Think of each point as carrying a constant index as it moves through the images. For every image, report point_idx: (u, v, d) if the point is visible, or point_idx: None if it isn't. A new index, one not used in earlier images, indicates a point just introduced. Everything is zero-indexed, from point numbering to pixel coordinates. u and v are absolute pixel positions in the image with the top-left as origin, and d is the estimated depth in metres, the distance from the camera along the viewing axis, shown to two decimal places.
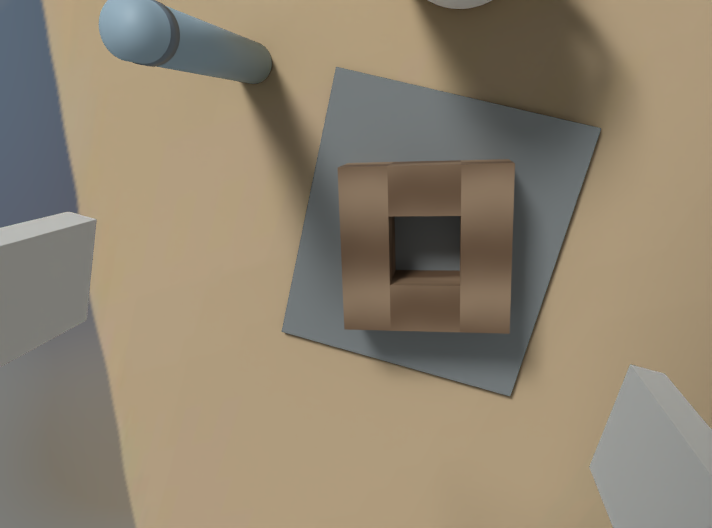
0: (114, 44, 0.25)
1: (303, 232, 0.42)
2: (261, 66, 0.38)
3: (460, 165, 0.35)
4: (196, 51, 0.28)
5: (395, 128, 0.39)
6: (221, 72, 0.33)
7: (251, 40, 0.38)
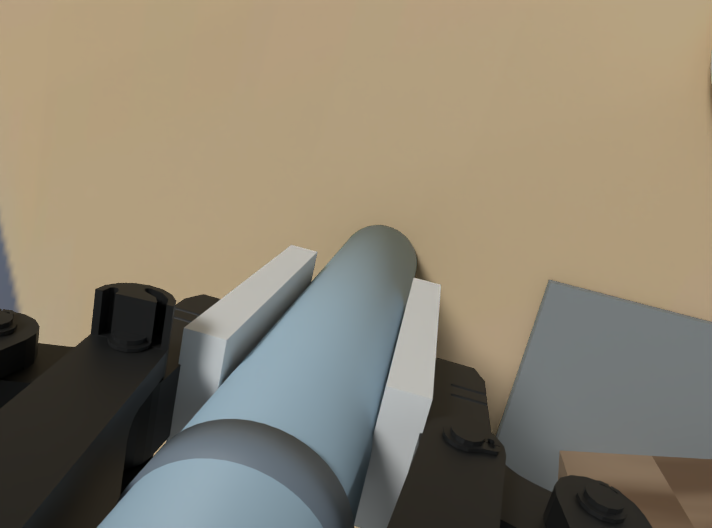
0: None
1: None
2: None
3: None
4: None
5: (663, 399, 0.20)
6: None
7: (392, 242, 0.19)
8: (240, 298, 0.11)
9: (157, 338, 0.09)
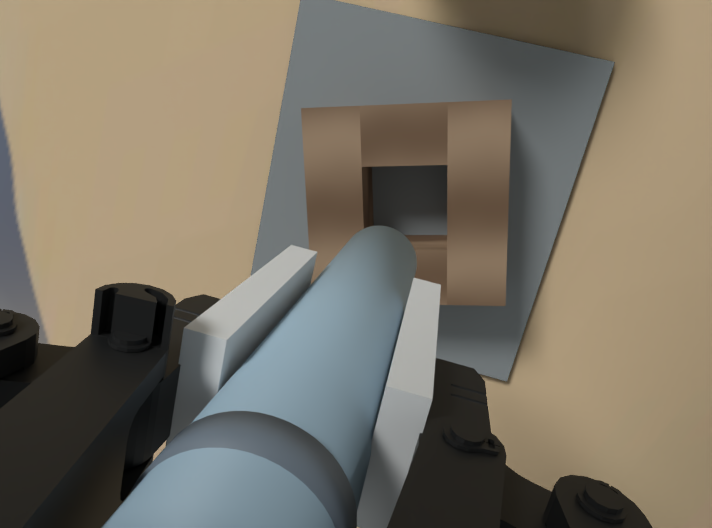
0: None
1: (267, 192, 0.36)
2: None
3: (446, 103, 0.29)
4: None
5: (372, 66, 0.33)
6: None
7: (393, 242, 0.19)
8: (240, 298, 0.11)
9: (157, 338, 0.09)
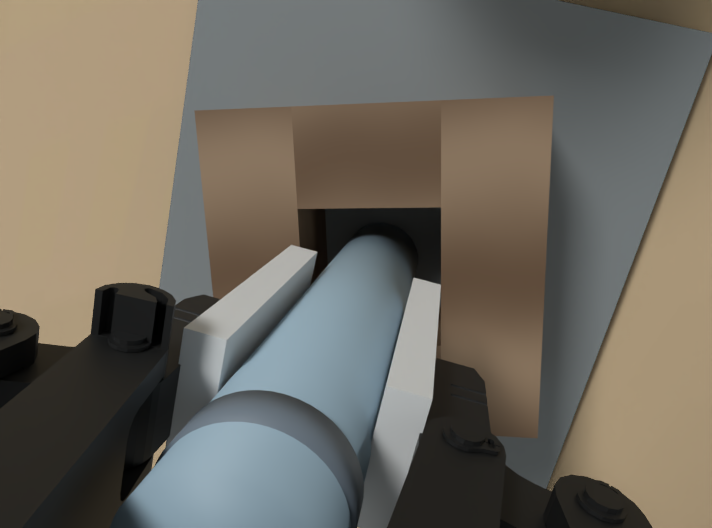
0: None
1: (168, 238, 0.24)
2: None
3: (439, 102, 0.17)
4: None
5: (322, 44, 0.21)
6: None
7: (395, 239, 0.20)
8: (240, 298, 0.11)
9: (157, 338, 0.09)
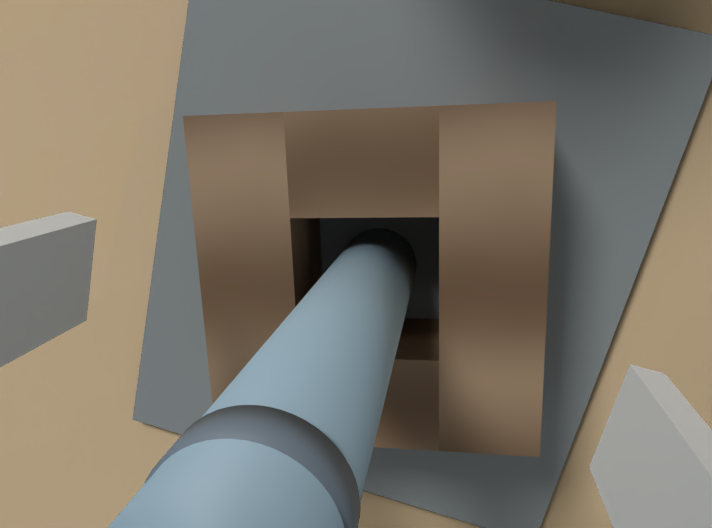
0: None
1: (158, 247, 0.23)
2: None
3: (437, 107, 0.16)
4: None
5: (316, 47, 0.20)
6: None
7: (393, 245, 0.19)
8: None
9: None
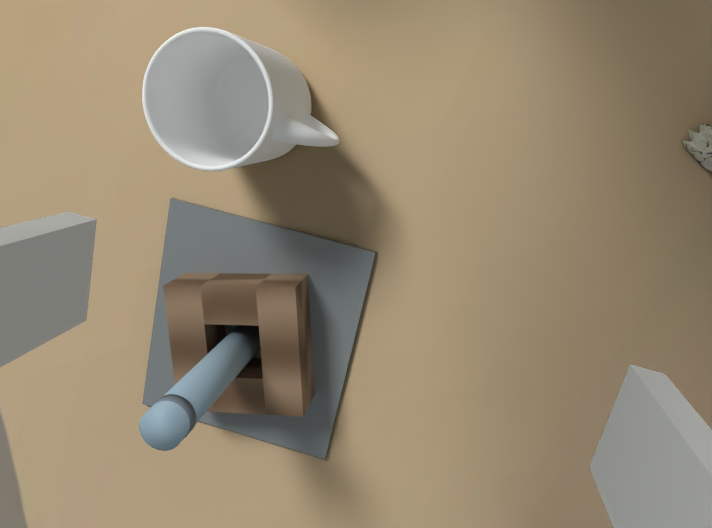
0: (150, 439, 0.35)
1: (154, 325, 0.51)
2: (257, 350, 0.48)
3: (255, 287, 0.45)
4: (207, 408, 0.38)
5: (219, 247, 0.48)
6: None
7: (249, 331, 0.48)
8: None
9: None
